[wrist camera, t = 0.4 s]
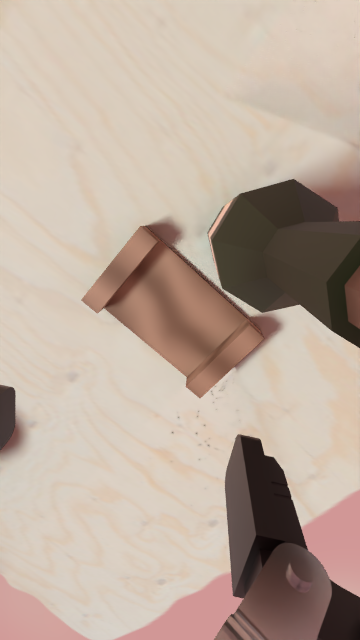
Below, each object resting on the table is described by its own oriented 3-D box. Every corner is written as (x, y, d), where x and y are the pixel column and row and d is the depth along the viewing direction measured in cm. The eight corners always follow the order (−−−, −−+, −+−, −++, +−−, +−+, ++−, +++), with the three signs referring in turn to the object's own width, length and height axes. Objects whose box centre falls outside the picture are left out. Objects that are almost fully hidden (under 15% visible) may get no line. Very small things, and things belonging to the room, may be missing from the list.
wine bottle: (294, 245, 35) (695, 343, 7) (233, 288, 37) (338, 504, 9) (254, 182, 33) (558, -54, 5) (192, 230, 35) (153, 261, 7)
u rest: (145, 225, 36) (140, 226, 33) (259, 329, 38) (264, 338, 36) (90, 294, 39) (81, 300, 36) (200, 386, 41) (200, 398, 38)
